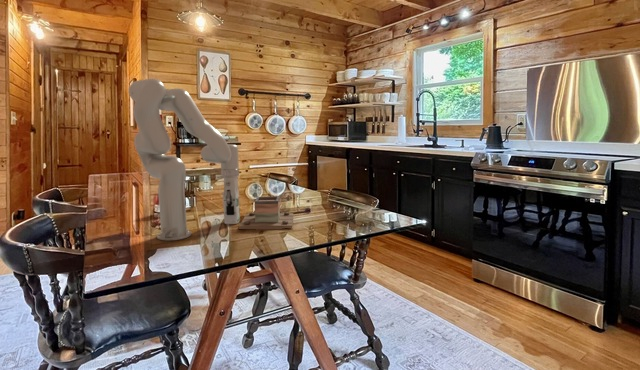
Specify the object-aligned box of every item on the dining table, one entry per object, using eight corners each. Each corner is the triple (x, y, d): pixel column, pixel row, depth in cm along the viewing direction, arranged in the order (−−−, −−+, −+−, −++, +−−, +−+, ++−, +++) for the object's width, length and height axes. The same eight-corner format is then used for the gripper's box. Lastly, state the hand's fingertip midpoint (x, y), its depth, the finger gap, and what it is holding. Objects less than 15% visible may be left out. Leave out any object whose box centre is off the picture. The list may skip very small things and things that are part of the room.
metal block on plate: (292, 228, 165) (291, 203, 163) (239, 229, 164) (238, 204, 162) (293, 216, 187) (293, 193, 185) (246, 216, 186) (245, 194, 184)
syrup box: (237, 224, 173) (235, 191, 170) (223, 224, 173) (222, 191, 170) (240, 220, 178) (238, 189, 176) (227, 220, 178) (225, 189, 176)
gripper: (235, 175, 164) (237, 217, 167) (241, 170, 181) (243, 208, 184) (217, 175, 163) (219, 218, 166) (225, 170, 180) (226, 208, 183)
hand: (231, 212), depth 175 cm, fingers closed on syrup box, 5 cm apart
